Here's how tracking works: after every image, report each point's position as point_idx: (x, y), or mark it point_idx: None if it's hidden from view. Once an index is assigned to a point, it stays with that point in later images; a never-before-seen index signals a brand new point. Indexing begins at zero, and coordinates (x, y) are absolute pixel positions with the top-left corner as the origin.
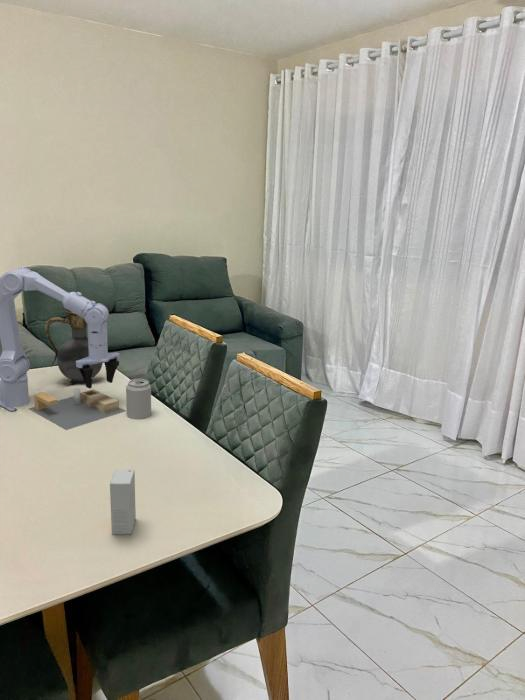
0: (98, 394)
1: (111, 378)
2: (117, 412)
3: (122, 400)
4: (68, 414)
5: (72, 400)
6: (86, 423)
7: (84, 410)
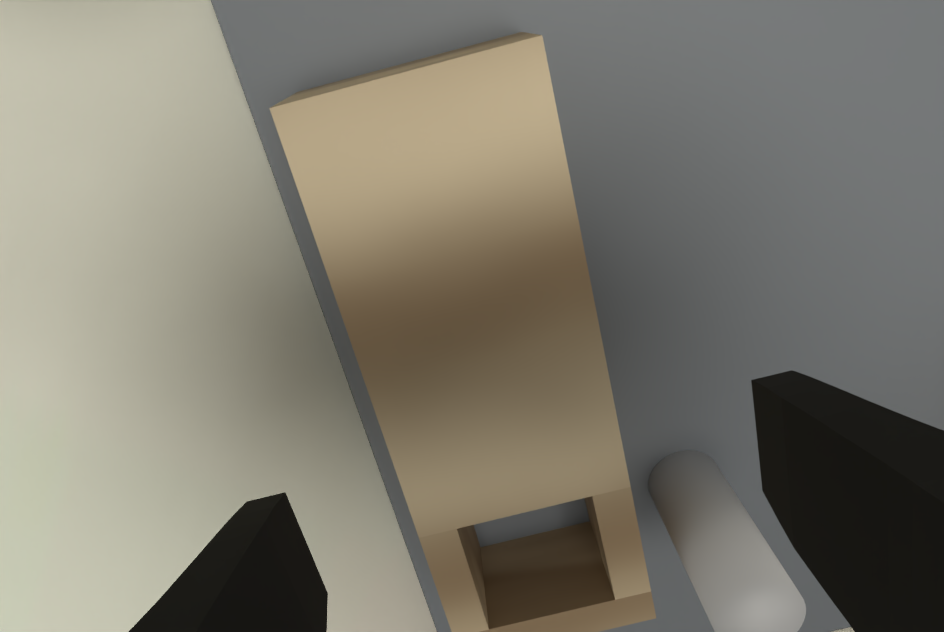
0: (469, 485)
1: (244, 547)
2: None
3: (152, 439)
4: (915, 239)
5: (682, 590)
6: None
7: (704, 273)
